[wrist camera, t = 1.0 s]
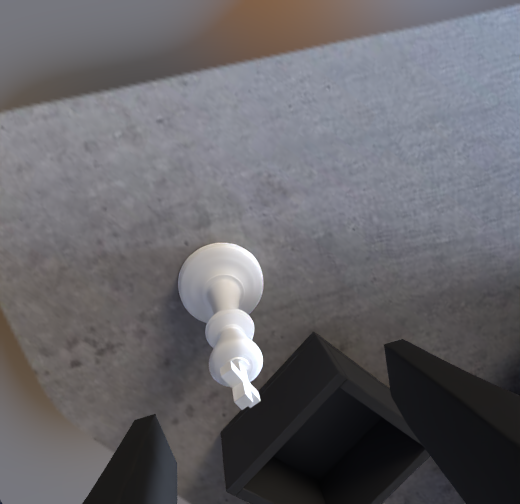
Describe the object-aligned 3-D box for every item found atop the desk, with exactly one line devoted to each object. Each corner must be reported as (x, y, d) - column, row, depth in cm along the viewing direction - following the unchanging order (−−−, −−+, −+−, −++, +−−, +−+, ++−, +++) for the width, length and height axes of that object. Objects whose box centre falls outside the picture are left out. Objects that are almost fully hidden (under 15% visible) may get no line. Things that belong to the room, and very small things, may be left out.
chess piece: (212, 335, 21) (225, 487, 12) (159, 276, 20) (126, 397, 10) (278, 289, 21) (345, 405, 12) (231, 225, 19) (264, 300, 10)
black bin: (220, 432, 23) (225, 492, 19) (313, 331, 22) (339, 372, 18) (316, 484, 26) (338, 546, 22) (402, 398, 25) (441, 445, 21)
